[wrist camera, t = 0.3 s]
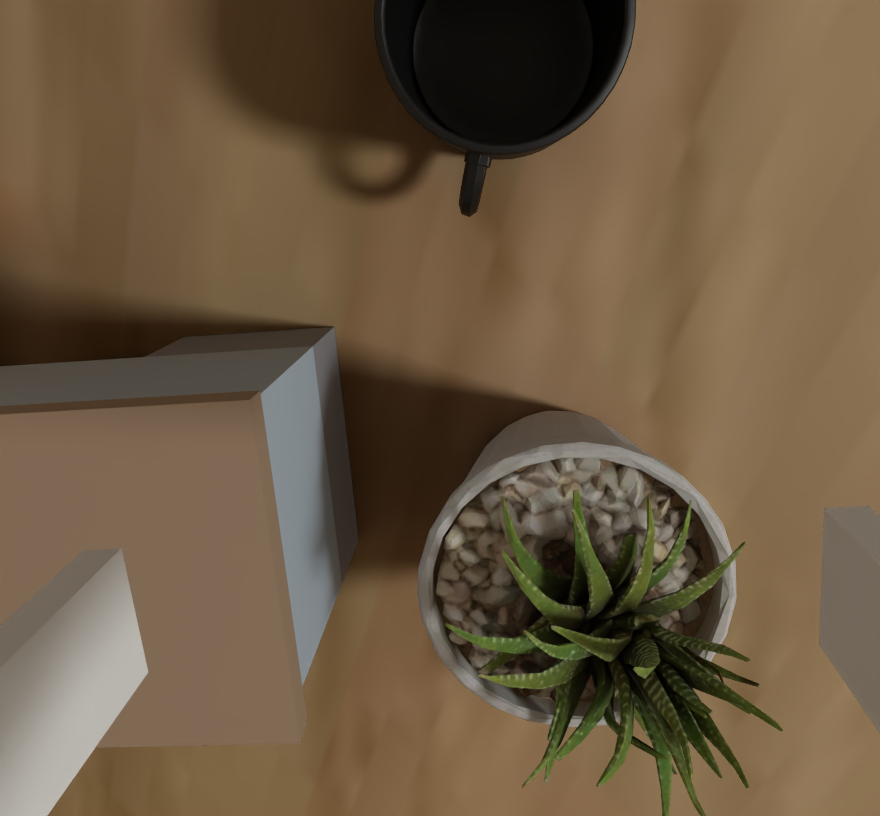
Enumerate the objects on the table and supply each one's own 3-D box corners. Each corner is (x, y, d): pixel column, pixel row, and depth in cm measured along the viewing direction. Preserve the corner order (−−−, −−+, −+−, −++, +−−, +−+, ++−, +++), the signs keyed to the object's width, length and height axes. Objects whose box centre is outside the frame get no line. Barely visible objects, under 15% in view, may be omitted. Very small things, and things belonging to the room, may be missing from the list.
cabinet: (10, 339, 43) (-265, 429, 28) (342, 316, 42) (249, 399, 26) (61, 568, 47) (-156, 763, 31) (369, 556, 45) (301, 755, 30)
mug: (375, 191, 40) (341, 196, 31) (422, -80, 36) (398, -159, 28) (563, 231, 40) (582, 246, 31) (628, -37, 36) (668, -104, 28)
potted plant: (460, 622, 46) (432, 942, 27) (420, 390, 42) (356, 566, 23) (686, 599, 45) (827, 918, 25) (665, 356, 41) (811, 514, 22)
